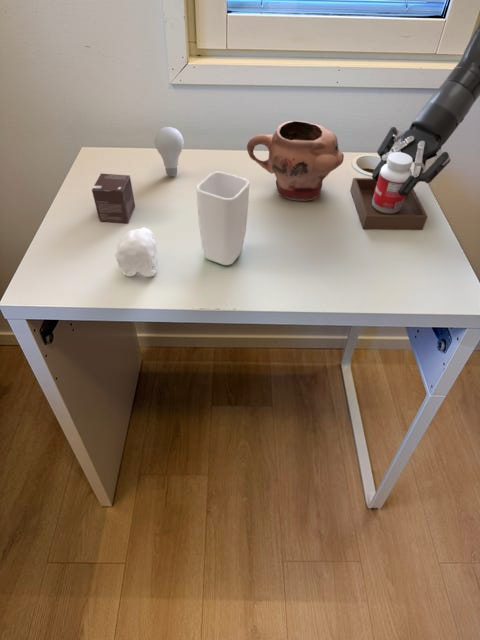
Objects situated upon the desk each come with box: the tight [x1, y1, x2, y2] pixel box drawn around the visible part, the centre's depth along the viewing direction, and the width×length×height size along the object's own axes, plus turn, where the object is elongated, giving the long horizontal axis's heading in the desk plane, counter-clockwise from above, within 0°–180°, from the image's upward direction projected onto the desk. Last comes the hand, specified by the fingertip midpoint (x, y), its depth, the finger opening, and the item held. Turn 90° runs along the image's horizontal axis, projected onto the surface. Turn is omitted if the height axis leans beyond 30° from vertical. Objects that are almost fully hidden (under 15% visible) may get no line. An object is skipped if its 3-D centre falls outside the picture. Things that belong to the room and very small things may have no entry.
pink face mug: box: [246, 120, 345, 201], centre depth 98 cm, size 20×12×14 cm, turn 87°
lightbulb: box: [154, 126, 185, 178], centre depth 101 cm, size 6×6×11 cm
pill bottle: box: [372, 151, 413, 214], centre depth 94 cm, size 6×6×11 cm
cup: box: [196, 170, 250, 266], centre depth 81 cm, size 7×7×15 cm
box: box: [91, 173, 136, 224], centre depth 92 cm, size 6×6×7 cm
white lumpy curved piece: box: [114, 226, 157, 278], centre depth 82 cm, size 6×8×12 cm
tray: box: [350, 177, 428, 231], centre depth 98 cm, size 14×12×3 cm
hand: (387, 186), depth 94 cm, fingers closed on pill bottle, 6 cm apart
